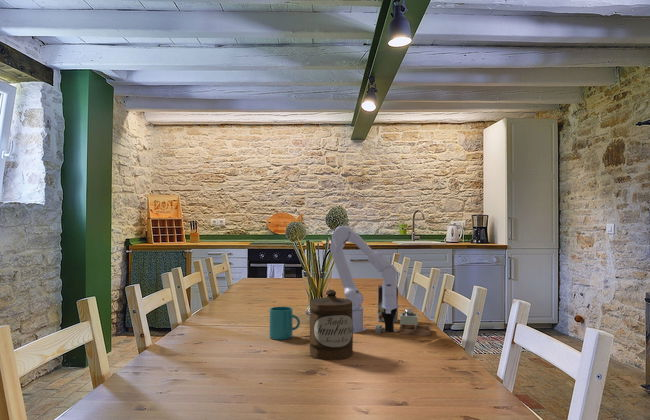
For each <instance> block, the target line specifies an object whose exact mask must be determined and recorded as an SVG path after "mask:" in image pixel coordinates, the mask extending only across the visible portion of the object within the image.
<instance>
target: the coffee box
mask: <svg viewBox="0 0 650 420" xmlns="http://www.w3.org/2000/svg"><path fill="white" fill-rule="evenodd" d="M396 303H397V305H399V287H398V286H397V285H396ZM382 305H383V285H377V312H376V313H377V317H376V318H377V319H376V320H377V322H378V323H385V322H384V318H383V316H382V312H384V308H382ZM398 310H399V308H397V311H396V315H395V317H394V323H398V321H399V319H398V317H399V313H398V312H399V311H398Z"/></svg>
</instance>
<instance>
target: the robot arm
mask: <svg viewBox="0 0 650 420" xmlns="http://www.w3.org/2000/svg"><path fill="white" fill-rule="evenodd" d="M330 241H331V242H330V245H329V251H330V254H331V256H332V259H333V262H334V264H335V267H336V270H337V272H338V276H339V278H340V281H341V283H342V287H343V289H344V295H345V299H349V300H351V301H352V322H353V334H355V333H356V334H357V333H359V332H364V331H366V330H368V328H365V327H364V307H363V306H362V304H363V302H364V295H363V294H362V293H361V292H360V291H359V288H358V286H357V285H356V283H355V280H354V277H353V275H352V272H351V270H350V267H349V264H348V261H347V259H346V256H345V254H344V251H343V248H344V247H345V245H346V243H347V242H348V243H349V244H350V243H351V244H353V245H354V244H355V246H356V247H358V249H360V250H361V251H362V253H364V254H365V255H366V256H367V257H368V262H369V263H370V264H371V265H372V267H374V268H375V269H376V270H377V271H378V272H379V273H381V277H382V286H383V305H382V308H384V312H382V316H383V318H384V322H383V323H384V328H385V327H386V330H392V325H393V319H394V317H395V315H396V311H397V308H398V309H399V308H400V305H399V304H398V305H397V303H396V286H397V274H398V273H397V268H396V267H395V265H393V264H392V262H391V261H388V259H386V258H385V256H384V253H382V252H379V251H374V250H373V249H372V248H371V247H370V245H368V243H367V242H365V241H364V239H363V238H362V237H361V236H360V234H358V233H357V232H356V231H355V230H353V229H352V228H351V227H350V226H349V225H339V226H337V227H336V228H335V229H334V231H333V232H332V234H331V240H330Z"/></svg>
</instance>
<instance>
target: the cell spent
mask: <svg viewBox="0 0 650 420" xmlns="http://www.w3.org/2000/svg"><path fill="white" fill-rule="evenodd" d="M404 313H405V316H413V313H414V309H412V308H405V309H404Z"/></svg>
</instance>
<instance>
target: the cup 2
mask: <svg viewBox="0 0 650 420" xmlns="http://www.w3.org/2000/svg"><path fill="white" fill-rule="evenodd" d="M418 316H419V315H418V313H417V312H416V313H415V312H413V316H405V312H401V313H400V316H399V317H400V321H399V322H400V324H411V325H419V322H418V321H419V320H418V319H419V317H418Z"/></svg>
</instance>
